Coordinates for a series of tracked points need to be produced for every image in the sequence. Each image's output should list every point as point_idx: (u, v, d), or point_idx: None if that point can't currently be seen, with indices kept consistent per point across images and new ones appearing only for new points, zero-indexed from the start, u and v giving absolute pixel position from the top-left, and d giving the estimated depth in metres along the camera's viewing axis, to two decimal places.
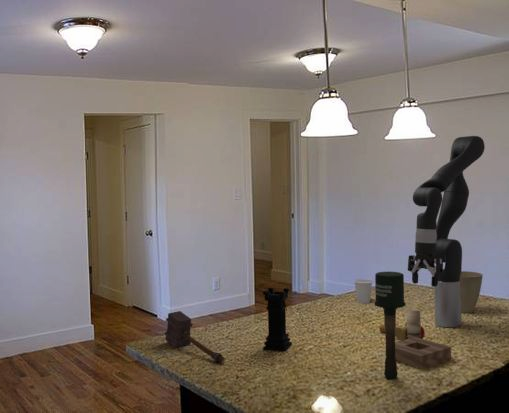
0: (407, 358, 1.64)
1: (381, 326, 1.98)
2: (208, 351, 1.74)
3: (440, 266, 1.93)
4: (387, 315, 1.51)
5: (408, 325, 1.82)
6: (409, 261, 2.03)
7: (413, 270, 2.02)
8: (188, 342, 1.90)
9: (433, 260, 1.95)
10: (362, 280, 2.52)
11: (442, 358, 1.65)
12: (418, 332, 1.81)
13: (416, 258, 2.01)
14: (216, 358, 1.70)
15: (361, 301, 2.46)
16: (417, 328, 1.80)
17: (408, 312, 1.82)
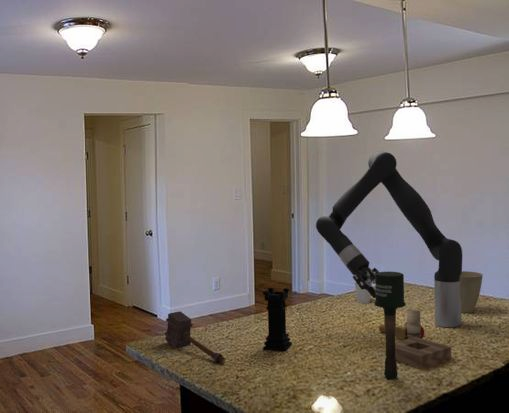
0: (407, 358, 1.64)
1: (381, 326, 1.99)
2: (208, 351, 1.74)
3: (358, 281, 1.88)
4: (387, 315, 1.51)
5: (408, 325, 1.82)
6: None
7: None
8: (188, 342, 1.90)
9: None
10: None
11: (442, 358, 1.65)
12: (418, 332, 1.81)
13: None
14: (216, 358, 1.69)
15: (361, 301, 2.46)
16: (417, 328, 1.80)
17: (408, 312, 1.82)
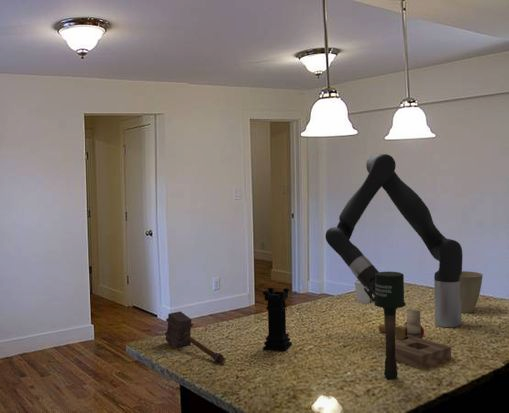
0: (407, 358, 1.64)
1: (380, 326, 1.99)
2: (209, 351, 1.74)
3: (369, 293, 1.85)
4: (387, 315, 1.51)
5: (408, 325, 1.82)
6: None
7: None
8: (188, 342, 1.89)
9: None
10: None
11: (442, 358, 1.65)
12: (418, 332, 1.81)
13: None
14: (217, 358, 1.69)
15: (361, 301, 2.46)
16: (417, 328, 1.80)
17: (408, 312, 1.82)
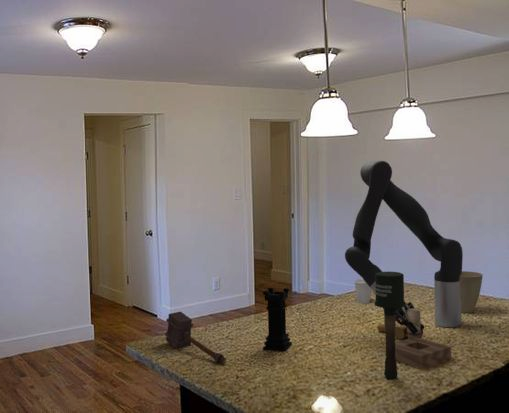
0: (407, 358, 1.64)
1: (379, 325, 1.99)
2: (209, 352, 1.73)
3: (396, 317, 1.80)
4: (387, 315, 1.51)
5: None
6: None
7: None
8: (189, 343, 1.89)
9: None
10: (362, 280, 2.52)
11: (442, 358, 1.65)
12: (418, 332, 1.81)
13: None
14: (217, 359, 1.69)
15: (361, 301, 2.46)
16: (417, 328, 1.80)
17: (408, 312, 1.82)
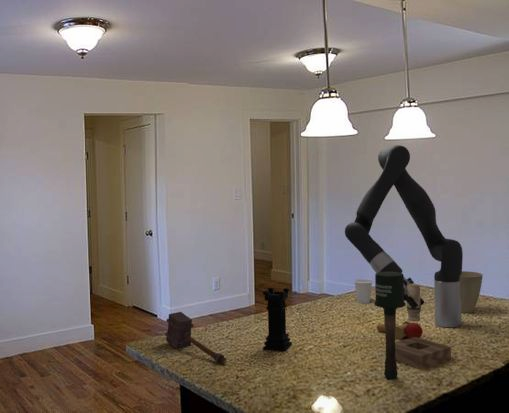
0: (407, 358, 1.64)
1: (378, 325, 2.00)
2: (210, 352, 1.73)
3: None
4: (387, 315, 1.51)
5: None
6: None
7: None
8: (189, 343, 1.89)
9: None
10: (362, 280, 2.52)
11: (442, 358, 1.65)
12: (418, 307, 1.80)
13: None
14: (218, 359, 1.69)
15: (361, 301, 2.46)
16: (417, 303, 1.80)
17: (408, 287, 1.81)
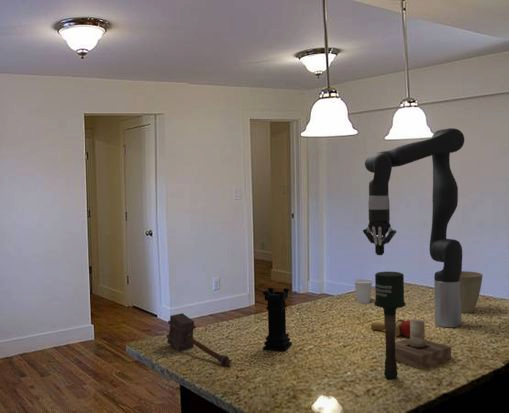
0: (407, 358, 1.64)
1: (373, 324, 2.02)
2: (214, 354, 1.71)
3: (390, 237, 1.93)
4: (387, 315, 1.51)
5: (411, 337, 1.68)
6: (366, 234, 1.99)
7: (375, 241, 1.96)
8: (191, 345, 1.87)
9: (388, 228, 1.93)
10: (362, 280, 2.52)
11: (442, 358, 1.65)
12: (422, 345, 1.67)
13: (370, 226, 1.98)
14: (223, 361, 1.67)
15: (361, 301, 2.46)
16: (421, 340, 1.67)
17: (411, 323, 1.68)
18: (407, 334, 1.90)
